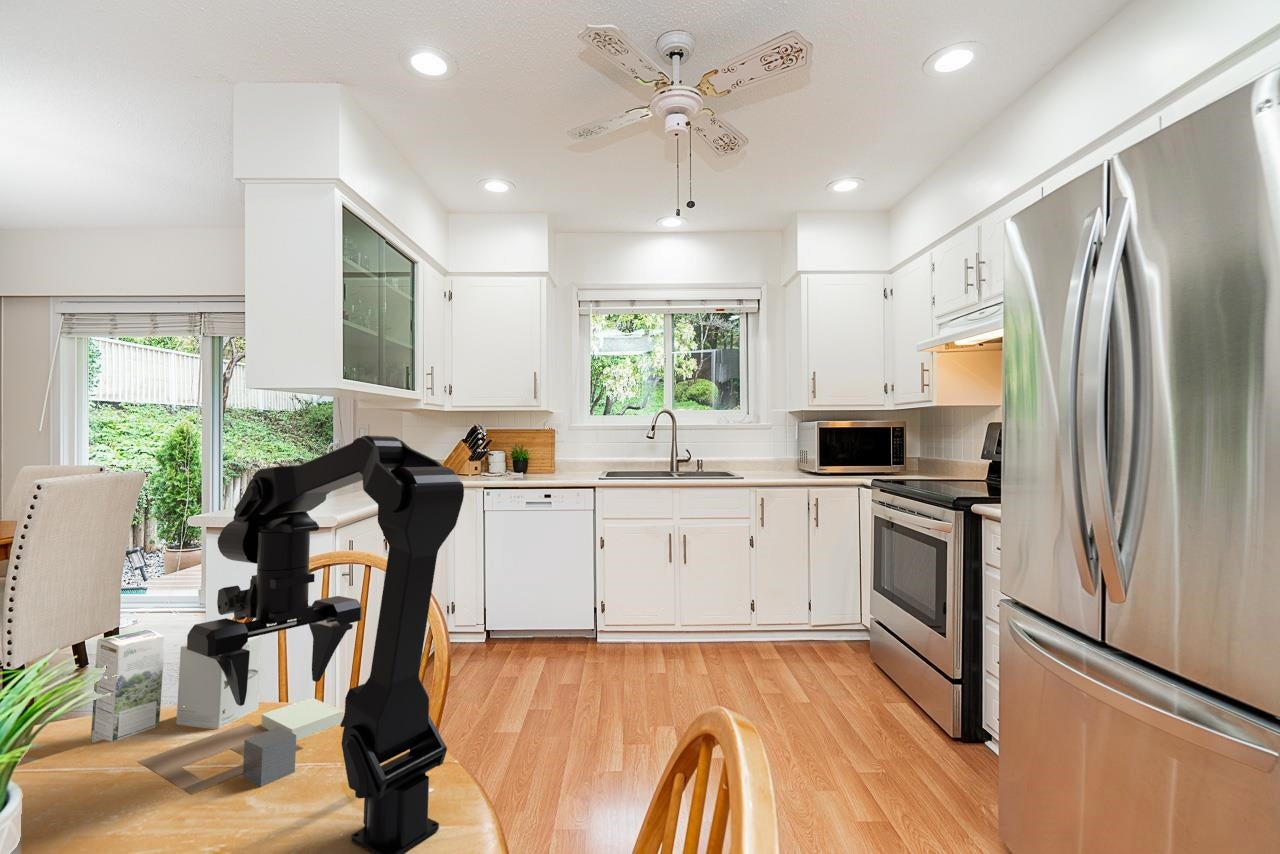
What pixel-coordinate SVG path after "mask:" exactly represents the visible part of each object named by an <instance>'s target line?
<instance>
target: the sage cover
mask: <svg viewBox="0 0 1280 854" xmlns="http://www.w3.org/2000/svg"><path fill="white" fill-rule="evenodd" d="M343 717H344V710H342V709H340V708H337V707H335V706H332V705H330V704H328V703H325V702H323V701H321V700H319V699H316V698H313V697H309V698H306V699H304V700H301V701H300V700H299V701H297V702H295V703H292V704H289V705H285V706H282V707H279V708H276V709H273V710H271V711H268V712H264V713H261V723H260V724H261V725H260V726H261V727H263V728H264V729H267V731H269V730H272V729H275V728H277V727H279V728H281V729H284V730H286V731H288V732H291V733H293V734H295V735H296V741H298V740H302V739H304V738H307V737H310V736H312V735H315V734H317V733H320V732H323V731H325V730H328V729H330V728H333V727H336V726H339V725H340V724H341V722H342V720H343Z"/></svg>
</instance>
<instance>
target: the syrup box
mask: <svg viewBox="0 0 1280 854" xmlns="http://www.w3.org/2000/svg"><path fill="white" fill-rule="evenodd" d="M165 642H166V637H165V635H163V634H161V633H159V632H157V631H155V630H151V629H139V630H136V631H131V632H126V633H121V634H116V635H112V636H108V637H103V638H98V639H97V641H96V650H95V651H96V654H95V655H96V656H95V668H103V667H104V666H105V665H107V664H108V666H107V668H106V670H105V672H104V673H103V677H102V678H101V679H100V680H99V681H97V682H96V683H95V682H94V683H95V684H94V685H93V692H94V691H95V692H96V693H97V694H102V695H105V694H107V693H112V694H111V695H110V696H105V697H102V698H99V699H96V700H93V702H92V714H91V715H92V716H91V717H92V718H91V732H90V733H91V734H90V743H92V744H93V743H97V742H99V741H102V740H105V741H109V742H111V743H113V742H116V741H119V740H123V739H125V738H128V737H131V736H135V735H137V734H140V733H143V732H145V731H149V730H153V729H155V728H157V727H160V719H161V704H162V688H163V686H162V685H163V672H164V658H165V646H166V645H165ZM114 675H118V676H117V677H112V676H114ZM104 676H107V677H109V679H105V678H104Z"/></svg>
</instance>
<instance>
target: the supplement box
mask: <svg viewBox="0 0 1280 854" xmlns="http://www.w3.org/2000/svg"><path fill="white" fill-rule="evenodd" d="M242 649H245V650H249V651H250V656H249V669H248V683H247V694H246V699H245V703H244V705H242V706H239V705H237V704H236V702H235V699H234V697H233V694H232V692H231V689H230V687H229V684H228V682H227V679H226V677H225V674H224V672H223V670H222V669H221V667H220V665H219V664H218V662H217V661H216V660H215V659H212V658H210V657H207V656H204V655H202V654H199V653H196V652H193V651H190V650H187V644H185V645H181V646H180V655H179V670H178V673H179V674H178V687H177V688H178V690H177V707H176V708H177V709H176V722H175V723H176V725H178V726H186V727H193V728H201V729H210V730H211V729H212V730H219V729H221V728H224V727H225V726H227V725H229V724H231V723H233V722H235V721H238V720H239V719H241V718H243V717H245V716H247V715H249V714H251V713H253V712H255V711H257V710H258V709H259V700H260V699H259V695H260V694H259V693H260V675H261V672H260V671H261V657H262V635H259V636H255V637H251V638H248V642H247V643H246V644H245V645H244V646H243V647H242ZM183 706H185V707H183Z"/></svg>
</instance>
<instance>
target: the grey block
mask: <svg viewBox="0 0 1280 854" xmlns="http://www.w3.org/2000/svg"><path fill="white" fill-rule="evenodd" d="M265 731H266V730H265ZM296 745H297V740H296V735H295V734H293V733H291V732H288V731H286V730H284V729H281V728H279V727H277V728H275V729H272V730H267V731H266V732H264V733H261V734H258V735H256V736H253V737H250V738H247V739H245V740H244V756H243V774H242V778H243V779H244V780H245V781H246V780H247V781H248V782H251V783H252V784H254V785H256V786H257V787H259V788H262V787H264V786H267V785H269V784H271V783H274V782H276V781H278V780H280V779H282V778H285V777H287V776H290V775H291V774H294V773H295V772H296V755H297V754H296V752H297V751H296Z"/></svg>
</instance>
